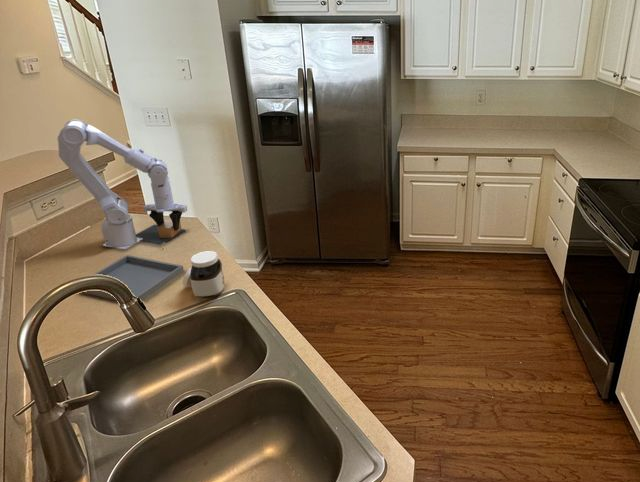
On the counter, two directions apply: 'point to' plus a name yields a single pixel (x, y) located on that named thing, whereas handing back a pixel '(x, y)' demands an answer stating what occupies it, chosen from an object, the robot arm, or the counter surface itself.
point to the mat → (155, 235)
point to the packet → (167, 229)
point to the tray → (140, 275)
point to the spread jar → (205, 275)
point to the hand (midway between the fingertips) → (169, 229)
